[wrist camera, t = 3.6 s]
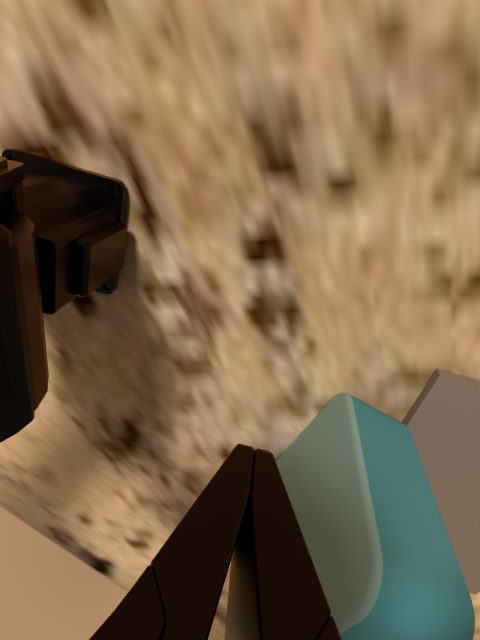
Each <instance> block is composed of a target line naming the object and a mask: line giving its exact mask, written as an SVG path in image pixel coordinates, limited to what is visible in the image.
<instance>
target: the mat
mask: <svg viewBox="0 0 480 640" xmlns="http://www.w3.org/2000/svg"><path fill="white" fill-rule="evenodd" d="M402 423H403V424H405V425H406V426H407V427H408V428H409V430H410V432H411V434H412V437H413V440H414V443H415V445H416V448H417V451H418V454H419V456H420V459H421V462H422V465H423V467H424V470H425V473H426V476H427V478H428V481H429V484H430V487H431V489H432V492H433V495H434V498H435V500H436V503H437V506H438V509H439V512H440V514H441V517H442V520H443V523H444V525H445V528H446V531H447V534H448V536H449V539H450V542H451V545H452V547H453V550H454V553H455V556H456V558H457V561H458V564H459V567H460V569H461V572H462V575H463V578H464V580H465V583H466V586H467V589H468V591H469V592H470V593H473V594H477V593H478V592H480V382H479V381H476V380H472V379H469V378H466V377H462V376H459V375H456V374H452V373H449V372H446V371H442V370H439V369H436V371H435V372H434V374H433V375H432V377H431V378H430V380H429V382H428V383H427V385H426V386H425V388H424V389H423V391H422V392H421V394H420V395H419V397H418V399H417V400H416V402H415V403H414V405H413V406H412V408H411V409H410V411H409V412H408V414H407V415H406V417H405V419H404V420H403V422H402Z"/></svg>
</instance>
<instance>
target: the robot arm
mask: <svg viewBox="0 0 480 640" xmlns="http://www.w3.org/2000/svg"><path fill="white" fill-rule="evenodd" d="M12 156H14V158H15V160H16V161H12ZM113 186H116V187H117V188H118V190H119V193H118V195H117V194H115V193H114V192H113ZM126 193H127V191H126V187H125V184H124V183H123V182H122V181H120V180H118V179H114V178H111V177H108V176H104V175H101V174H98V173H94V172H91V171H87V170H84V169H81V168H77V167H74V166H71V165H67V164H64V163H61V162H57V161H54V160H50V159H47V158H44V157H40V156H37V155H34V154H30V153H27V152H24V151H20V150H17V149H7V150H4V151H3V153H2V157H1V156H0V442H2V441H4V440H6V439H7V438H9V437H11V436H13V435H15V434H16V433H18V432H19V431H20V430H22V429H23V428H24V427H25V426H26V425H28V424H29V423H30V422H31V421H32V420H33V419H34V411H35V410H36V409H37V408H38V406H39V404H40V403H41V401H42V399H43V398H44V396H45V394H46V393H47V391H48V378H49V373H48V363H47V352H46V341H45V331H44V320H43V313H46V314H54V313H55V312H56V311H58V310H59V309H61V308H62V307H63V306H65V305H66V304H67V303H69V302H70V301H71V300H73V299H74V298H75V297H77V296H80V297H86V296H87V295H89V294H90V293H92V292H93V291H97V292H100V293H104V294H111V293H113V292H114V291H115V290H116V288H117V283H118V273H119V271H120V270H121V269H122V268H123V264H124V254H125V245H126V235H127V226H126V224H125V222H124V213H125V203H126ZM105 282H106V283H108V284H109V285H110V288H108V287H107V286H106V285H105ZM230 562H231V570H230V582H229V595H228V607H227V619H226V632H225V640H342V638H341V636H340V633H339V630H338V628H337V625H336V622H335V619H334V617H333V616H330V615H331V609H330V606H329V604H328V601H327V598H326V596H325V593H324V590H323V587H322V585H321V582H320V579H319V577H318V574H317V571H316V569H315V566H314V563H313V560H312V558H311V555H310V552H309V550H308V547H307V544H306V542H305V539H304V536H303V533H302V531H301V528H300V525H299V523H298V520H297V517H296V515H295V512H294V509H293V506H292V504H291V501H290V498H289V496H288V493H287V490H286V488H285V485H284V482H283V479H282V477H281V474H280V471H279V469H278V466H277V463H276V461H275V458H274V455H273V454H272V453H271V452H269V451H266V450H262V449H255V450H254V448H253V447H251V446H247V445H243V444H237V445H236V446H235V448H234V449H233V450H232V452H231V453H230V455H229V456H228V457H227V459H226V460H225V461H224V463H223V464H222V466H221V467H220V468H219V470H218V471H217V472H216V474H215V475H214V477H213V478H212V479H211V481H210V482H209V483H208V485H207V486H206V487H205V489H204V490H203V492H202V493H201V494H200V496H199V497H198V498H197V500H196V501H195V503H194V504H193V505H192V507H191V508H190V509H189V511H188V512H187V514H186V515H185V516H184V518H183V519H182V520H181V522H180V523H179V525H178V526H177V527H176V529H175V530H174V531H173V533H172V534H171V536H170V537H169V538H168V540H167V541H166V542H165V544H164V545H163V547H162V548H161V549H160V551H159V552H158V553H157V555H156V556H155V557H154V559H153V560H152V562H151V565H149V566H148V567H147V568H146V569H145V571H144V572H143V574H142V575H141V576H140V578H139V579H138V580H137V582H136V583H135V584H134V586H133V587H132V588H131V590H130V591H129V592H128V593H127V595H126V596H125V597H124V599H123V600H122V601H121V602H120V604H119V605H118V606H117V608H116V609H115V610H114V611H113V613H112V614H111V615H110V616H109V617H108V618H107V620H106V621H105V622H104V623H103V624H102V625H101V626H100V628H99V629H98V630H97V631H96V632H95V634H94V635H93V636H92V637H91V638H90V639H89V640H208V637H209V633H210V630H211V626H212V623H213V620H214V616H215V613H216V609H217V606H218V603H219V599H220V596H221V592H222V589H223V585H224V582H225V579H226V575H227V572H228V568H229V565H230Z"/></svg>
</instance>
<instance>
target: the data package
mask: <svg viewBox="0 0 480 640" xmlns="http://www.w3.org/2000/svg"><path fill="white" fill-rule="evenodd" d="M276 463H277V466H278V469H279V471H280V474H281V477H282V479H283V482H284V485H285V488H286V490H287V493H288V496H289V498H290V501H291V504H292V506H293V509H294V512H295V515H296V517H297V520H298V523H299V525H300V528H301V531H302V533H303V536H304V539H305V542H306V544H307V547H308V550H309V552H310V555H311V558H312V560H313V563H314V566H315V569H316V571H317V574H318V577H319V579H320V582H321V585H322V587H323V590H324V593H325V596H326V598H327V601H328V604H329V606H330V609H331V615H330V616H333V617H334V619H335V622H336V625H337V628H338V630H339V633H340V636H341V638H342V640H473V635H474V627H475V616H474V609H473V604H472V600H471V597H470V594H469V591H468V589H467V586H466V583H465V580H464V578H463V575H462V572H461V569H460V567H459V564H458V561H457V558H456V556H455V553H454V550H453V547H452V545H451V542H450V539H449V536H448V534H447V531H446V528H445V525H444V523H443V520H442V517H441V514H440V512H439V509H438V506H437V503H436V500H435V498H434V495H433V492H432V489H431V487H430V484H429V481H428V478H427V476H426V473H425V470H424V467H423V465H422V462H421V459H420V456H419V454H418V451H417V448H416V445H415V443H414V440H413V437H412V434H411V432H410V430H409V428H408V427H407V426H406V425H405V424H403V423H401V422H399V421H398V420H396V419H394V418H392V417H390V416H388V415H386V414H385V413H383V412H381V411H379V410H377V409H375V408H373V407H372V406H370V405H368V404H366V403H364V402H362V401H360V400H358V399H357V398H355V397H353V396H351V395H349V394H347V393H341V394H338V395H336V396H335V397H334V398H332V399H331V400H330V402H329V403H328V404H327V405H326V406H325V407H324V408H323V409H322V411H321V412H320V413H319V414H318V415H317V416H316V417H315V418H314V420H313V421H312V422H311V423H310V424H309V425H308V426H307V427H306V429H305V430H304V431H303V432H302V433H301V434H300V435H299V437H298V438H297V439H296V440H295V441H294V442H293V443H292V444H291V446H290V447H289V448H288V449H287V450H286V451H285V452H284V453H283V455H282V456H281V457H280V458H279V459H278V460H277V461H276Z"/></svg>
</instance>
